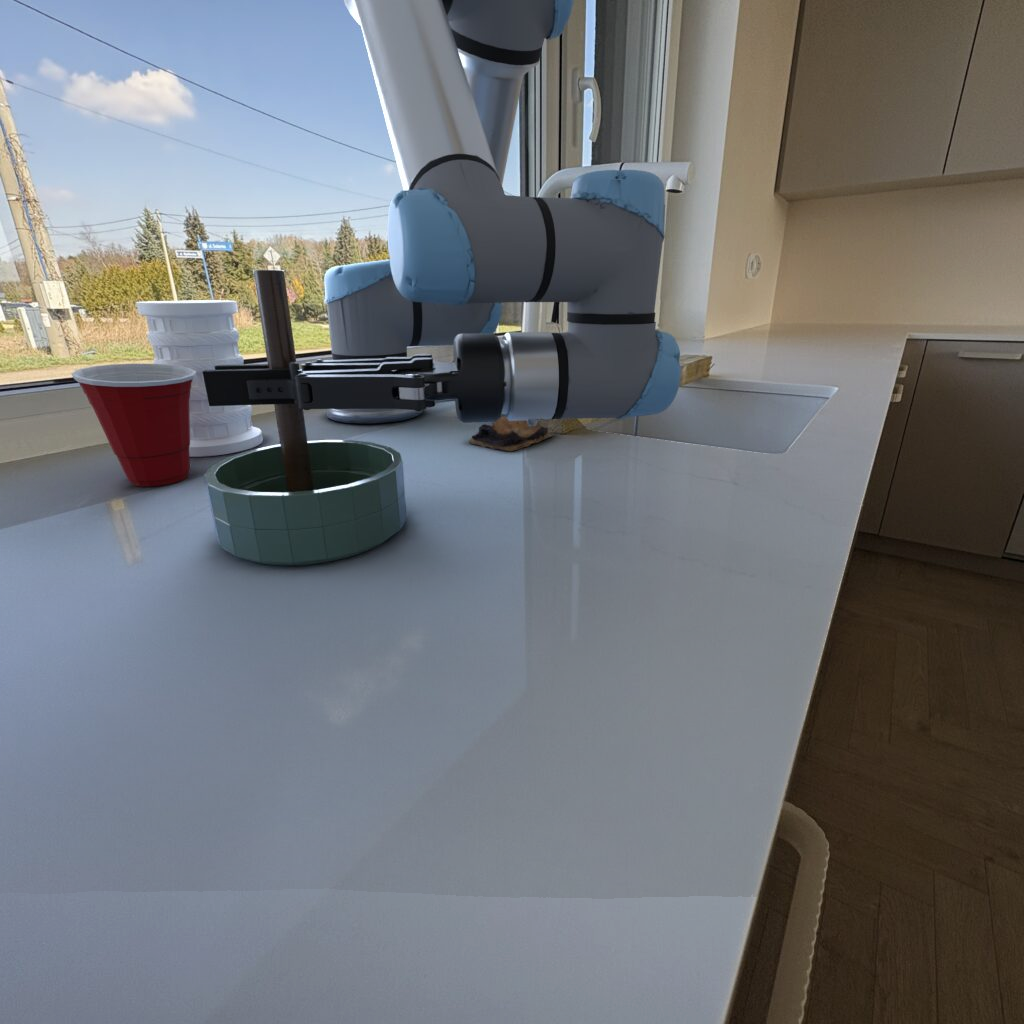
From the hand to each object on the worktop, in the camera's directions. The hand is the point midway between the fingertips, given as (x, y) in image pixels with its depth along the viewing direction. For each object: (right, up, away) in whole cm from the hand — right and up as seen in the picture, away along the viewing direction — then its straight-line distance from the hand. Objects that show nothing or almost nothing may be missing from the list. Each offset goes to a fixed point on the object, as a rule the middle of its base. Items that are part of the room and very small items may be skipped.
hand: (213, 385), depth 46 cm
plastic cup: (-15, -7, +17) cm, 23 cm away
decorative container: (-15, -1, +30) cm, 34 cm away
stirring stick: (+5, -10, +5) cm, 13 cm away
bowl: (+7, -12, +4) cm, 14 cm away
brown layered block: (+24, 0, +33) cm, 41 cm away
